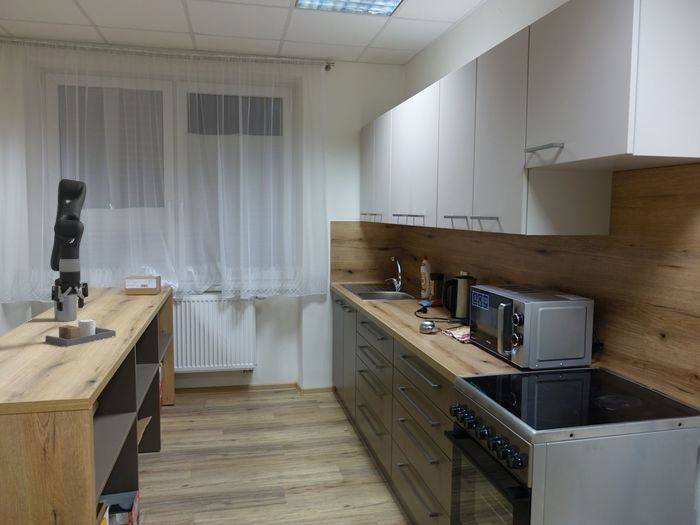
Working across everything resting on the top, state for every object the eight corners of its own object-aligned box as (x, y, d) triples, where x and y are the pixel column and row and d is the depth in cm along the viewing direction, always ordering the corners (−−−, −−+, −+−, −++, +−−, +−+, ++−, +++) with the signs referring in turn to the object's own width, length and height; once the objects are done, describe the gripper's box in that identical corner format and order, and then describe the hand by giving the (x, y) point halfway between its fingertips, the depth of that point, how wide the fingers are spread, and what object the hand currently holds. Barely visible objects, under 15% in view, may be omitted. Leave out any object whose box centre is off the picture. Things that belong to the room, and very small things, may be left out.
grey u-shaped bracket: (45, 341, 216) (45, 335, 216) (94, 332, 235) (94, 326, 235) (66, 346, 209) (66, 340, 209) (115, 336, 228) (115, 330, 228)
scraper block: (59, 341, 218) (58, 326, 218) (68, 339, 222) (68, 325, 221) (71, 343, 214) (70, 329, 214) (80, 341, 218) (80, 327, 217)
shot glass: (99, 335, 229) (99, 319, 228) (87, 339, 223) (86, 322, 222) (87, 334, 231) (87, 318, 231) (74, 337, 225) (74, 321, 224)
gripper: (80, 267, 223) (81, 306, 224) (47, 270, 210) (47, 311, 212) (91, 269, 219) (92, 308, 221) (58, 272, 207) (59, 313, 208)
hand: (70, 309), depth 216 cm, fingers open, 8 cm apart
